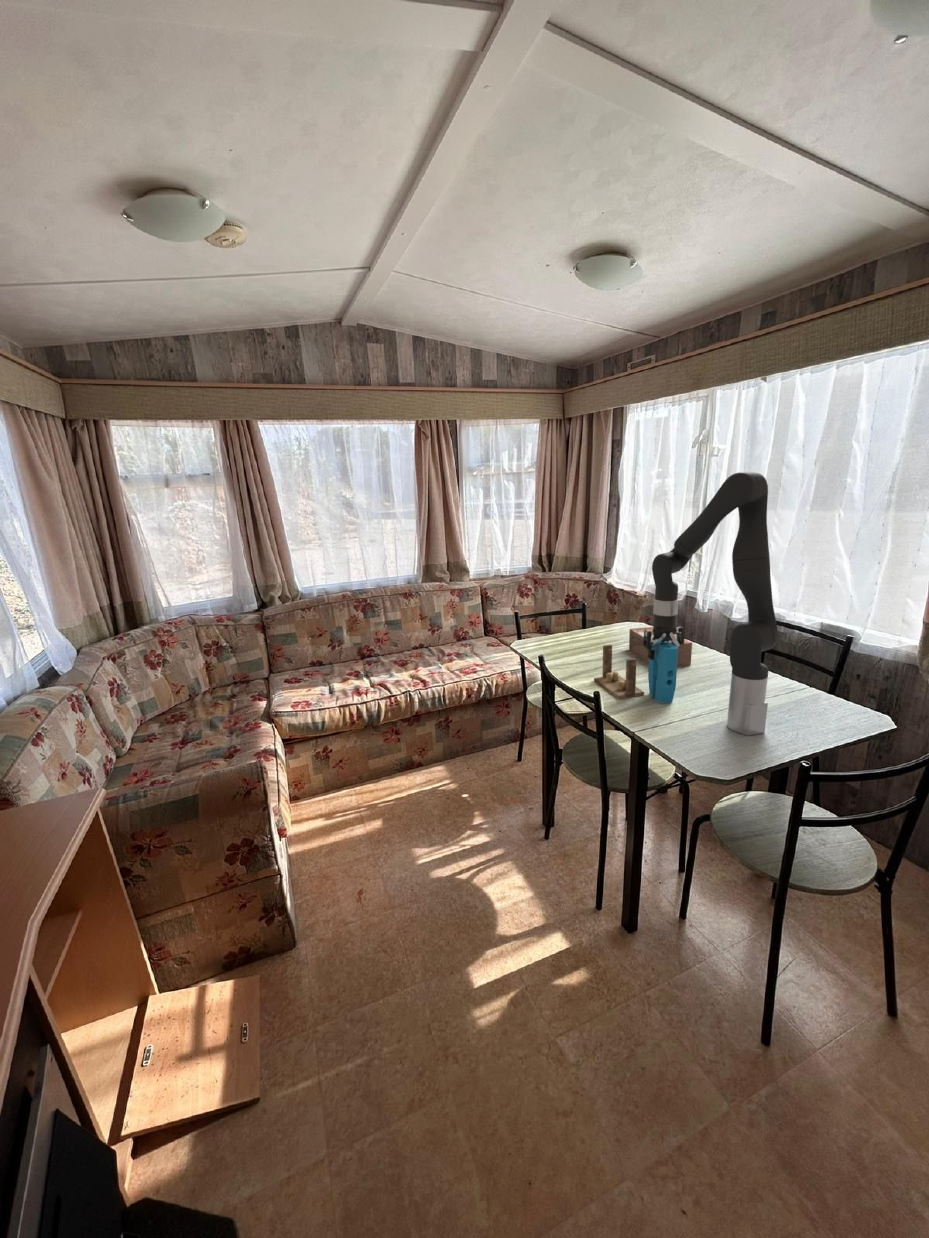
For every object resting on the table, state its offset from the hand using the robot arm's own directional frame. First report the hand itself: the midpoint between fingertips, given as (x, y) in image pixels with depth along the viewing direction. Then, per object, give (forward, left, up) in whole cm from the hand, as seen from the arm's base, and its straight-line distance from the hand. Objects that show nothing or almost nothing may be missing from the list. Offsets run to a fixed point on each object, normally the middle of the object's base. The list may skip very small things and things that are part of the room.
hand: (662, 657), depth 169 cm
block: (0, 0, -15) cm, 15 cm away
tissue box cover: (+37, -24, -15) cm, 47 cm away
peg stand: (+13, +9, -15) cm, 22 cm away
